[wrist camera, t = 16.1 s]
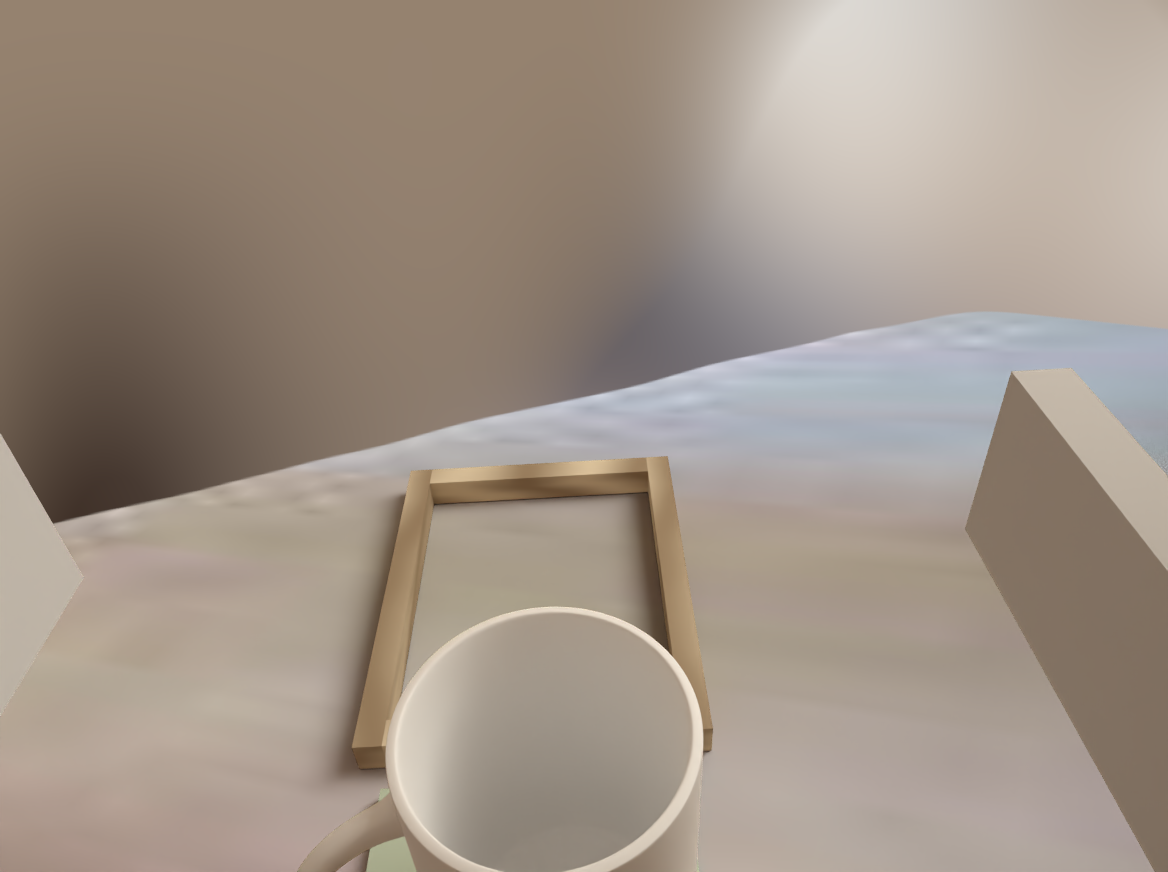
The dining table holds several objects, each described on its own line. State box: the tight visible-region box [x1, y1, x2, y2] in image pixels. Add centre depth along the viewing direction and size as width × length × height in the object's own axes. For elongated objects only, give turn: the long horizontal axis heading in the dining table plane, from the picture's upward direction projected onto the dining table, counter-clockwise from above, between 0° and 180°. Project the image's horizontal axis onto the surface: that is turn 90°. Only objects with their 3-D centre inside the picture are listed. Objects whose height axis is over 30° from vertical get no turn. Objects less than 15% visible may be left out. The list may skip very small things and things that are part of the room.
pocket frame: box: [352, 456, 713, 769], centre depth 41 cm, size 14×17×2 cm
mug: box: [297, 607, 703, 872], centre depth 25 cm, size 12×8×12 cm
